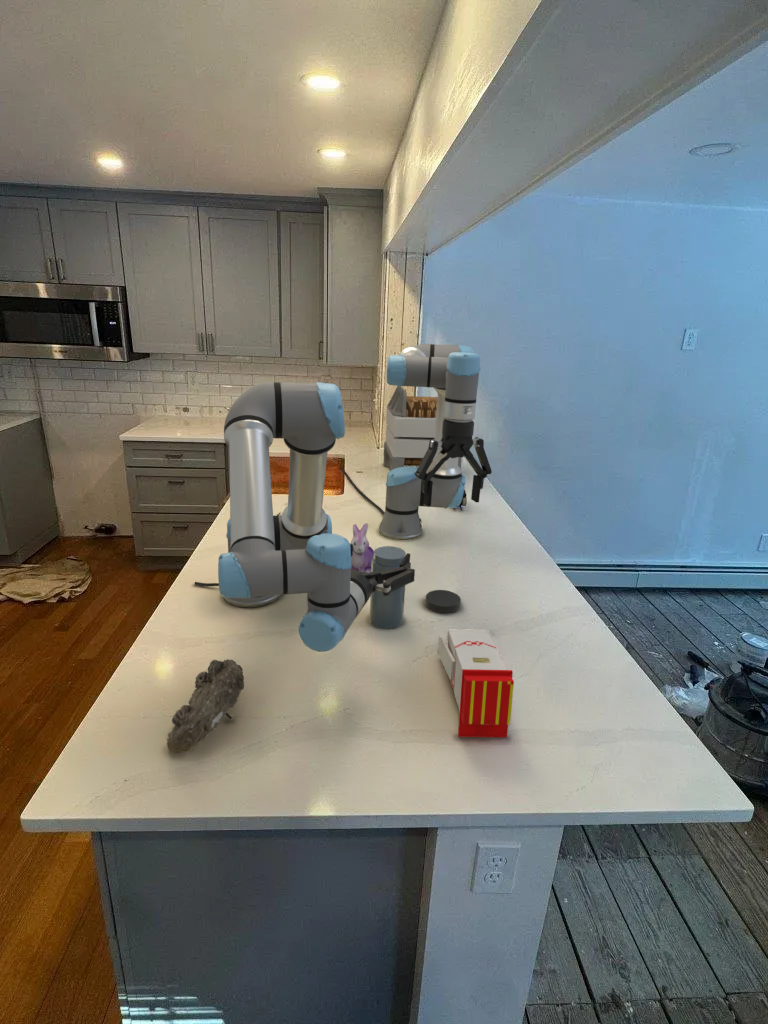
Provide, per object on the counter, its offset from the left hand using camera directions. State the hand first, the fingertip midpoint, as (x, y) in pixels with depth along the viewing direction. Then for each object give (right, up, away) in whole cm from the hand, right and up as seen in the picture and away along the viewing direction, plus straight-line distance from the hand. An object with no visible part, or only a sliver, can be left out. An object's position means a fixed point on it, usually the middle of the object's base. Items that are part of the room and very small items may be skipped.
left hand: (379, 554), depth 129 cm
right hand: (+18, +12, +14) cm, 26 cm away
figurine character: (+30, +12, +102) cm, 107 cm away
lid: (+17, -14, +23) cm, 32 cm away
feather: (-38, +8, +82) cm, 91 cm away
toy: (+19, -28, -10) cm, 35 cm away
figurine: (-6, -8, +41) cm, 42 cm away
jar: (+2, -18, +15) cm, 24 cm away
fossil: (-32, -30, -21) cm, 48 cm away
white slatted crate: (+18, +28, +146) cm, 150 cm away
